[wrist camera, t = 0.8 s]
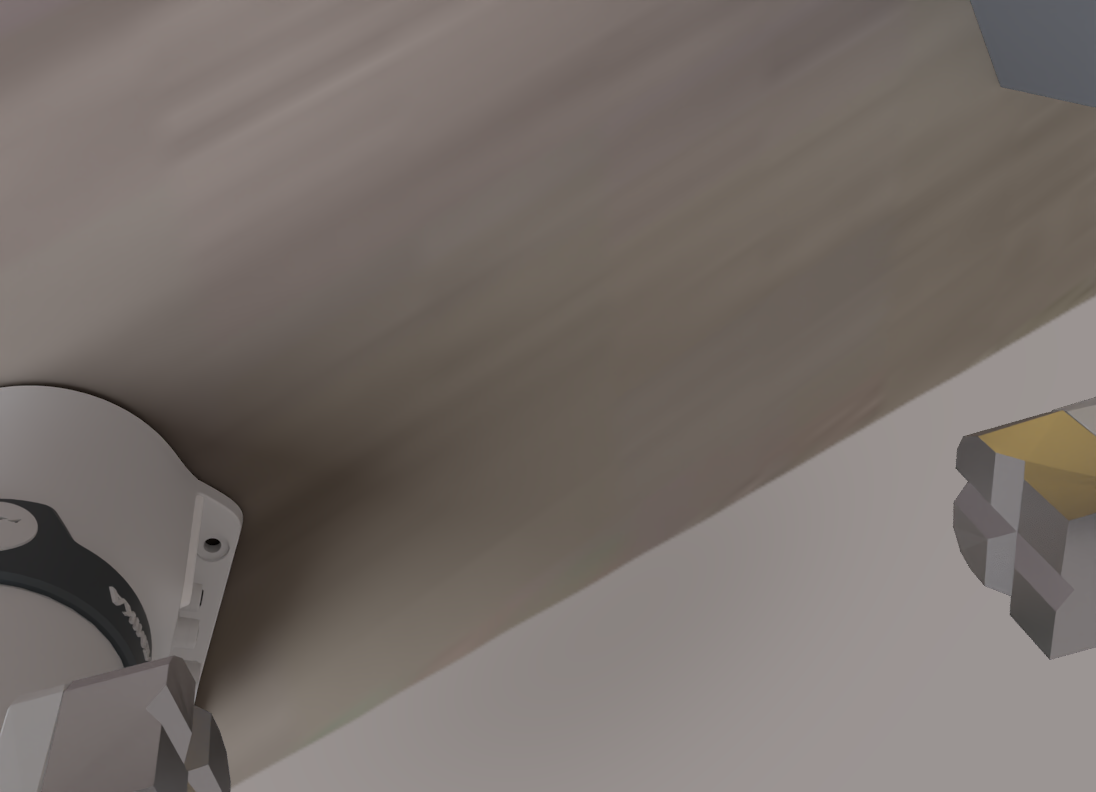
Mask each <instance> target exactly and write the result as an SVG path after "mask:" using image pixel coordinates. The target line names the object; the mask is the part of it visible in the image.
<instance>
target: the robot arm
mask: <svg viewBox="0 0 1096 792" xmlns="http://www.w3.org/2000/svg"><path fill="white" fill-rule="evenodd" d="M956 469H957V470H958V471H959V472H960V473H961V475H963V477H964V478H966V480H967V481H968V482H967V484H966V485H965V487H964V488H963V490H962V491H961V492H960V494H959V495H958V497H957V498H956V500H955V501H954V519H953V520H954V521H953V528H954V531H955V534H956V538H957V541H958V544H959V548H960V552H961V553H962V555H963V557H964V559H965V560H966V562H967V564H968V566H969V568H970V569H971V570H972V572H973V573H974V574H975V575H976V576H977V578H978V579H979V580H980V581H981V582H982V583H983V585H984V586H986V587H989V588H991V589H994V590H996V591H999V592H1002V593H1004V594H1007V595H1009V596H1011V604H1010V615H1011V617H1012V618H1013V619H1014V620H1015V621H1016V622H1017V624H1018V625H1019V626H1020V627H1021V628H1022V629H1023V630H1024V631H1025V633H1027V635H1028V636H1029V637H1030V638H1031V639H1032V640H1033V642H1034V643H1035V644H1036V645H1037V646H1038V647H1039V648H1040V649H1041V650H1042V652H1043V653H1044V654H1045V655H1046V656H1047V657H1048V658H1049V660H1051V659H1055V658H1059V657H1062V656H1066V655H1069V654H1073V653H1077V652H1080V651H1084V650H1088V649H1091V648H1095V647H1096V397H1094V398H1091V399H1088V400H1084V401H1081V402H1078V403H1074V404H1071V405H1068V406H1064V407H1061V408H1058V409H1054V410H1052V411H1051V412H1048V413H1044V414H1040V415H1037V416H1033V417H1030V418H1026V419H1023V420H1019V421H1016V422H1012V423H1008V424H1005V425H1002V426H998V427H995V428H991V429H987V430H984V431H980V432H977V433H973V434H970V435H967V436H963V438H962V440H961V442H960V444H959V447H958V449H957V459H956ZM242 524H243V514H242V511H241V509H240V508H239V506H238V505H237V504H236V503H235V502H234V501H233V500H231V499H230V498H229V497H227V496H226V495H224V494H223V493H221V492H219V491H218V490H216V489H214V488H212V487H211V486H209V485H207V484H205V483H203V482H202V481H200V480H198V479H197V478H196V477H195V476H194V475H193V474H192V473H191V472H190V471H189V470H188V469H187V468H186V467H185V465H184V464H183V463H182V461H181V460H180V459H179V457H178V456H177V455H176V453H175V452H174V451H173V449H172V448H171V447H170V446H169V445H168V443H167V442H166V441H165V440H164V439H163V438H162V437H161V436H160V435H159V434H158V433H157V432H156V431H154V430H153V429H152V428H151V427H150V426H149V425H147V424H146V423H145V422H143V421H142V420H141V419H139V418H138V417H136V416H135V415H133V414H131V413H130V412H128V411H126V410H125V409H123V408H121V407H119V406H117V405H115V404H113V403H110V402H108V401H106V400H103V399H101V398H98V397H95V396H92V395H89V394H86V393H82V392H78V391H74V390H69V389H64V388H57V387H49V386H10V387H2V388H0V792H230V786H231V781H230V774H229V767H228V760H227V753H226V749H225V746H224V743H223V740H222V737H221V733H220V730H219V728H218V726H217V724H216V722H215V720H214V718H213V716H212V714H211V713H210V712H208V711H206V710H204V709H202V708H199V707H197V706H195V705H194V703H195V699H196V694H197V689H198V685H199V681H200V678H201V674H202V670H203V667H204V663H205V659H206V656H207V652H208V649H209V645H210V641H211V638H212V634H213V630H214V627H215V623H216V620H217V616H218V612H219V609H220V605H221V601H222V598H223V594H224V590H225V587H226V583H227V580H228V576H229V572H230V569H231V565H232V561H233V558H234V554H235V550H236V547H237V543H238V540H239V536H240V532H241V528H242ZM210 538H215V539H218V540H219V541H220V543H219V544H217V545H208V544H207V543H206V542H205V541H206V540H208V539H210Z"/></svg>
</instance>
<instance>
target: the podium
mask: <svg viewBox="0 0 1096 792" xmlns="http://www.w3.org/2000/svg"><path fill="white" fill-rule="evenodd" d="M970 1H971V4H972V7H973V10H974V12H975V15H976V18H977V21H978V24H979V27H980V29H981V32H982V35H983V38H984V41H985V43H986V46H987V49H988V52H989V55H990V58H991V60H992V63H993V66H994V69H995V72H996V75H997V77H998V80H999V83H1000V86H1001V87H1004V88H1009V89H1013V90H1018V91H1022V92H1027V93H1031V94H1036V95H1041V96H1045V97H1050V98H1054V99H1059V100H1063V101H1068V102H1073V103H1077V104H1082V105H1086V106H1091V107H1096V0H970Z"/></svg>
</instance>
